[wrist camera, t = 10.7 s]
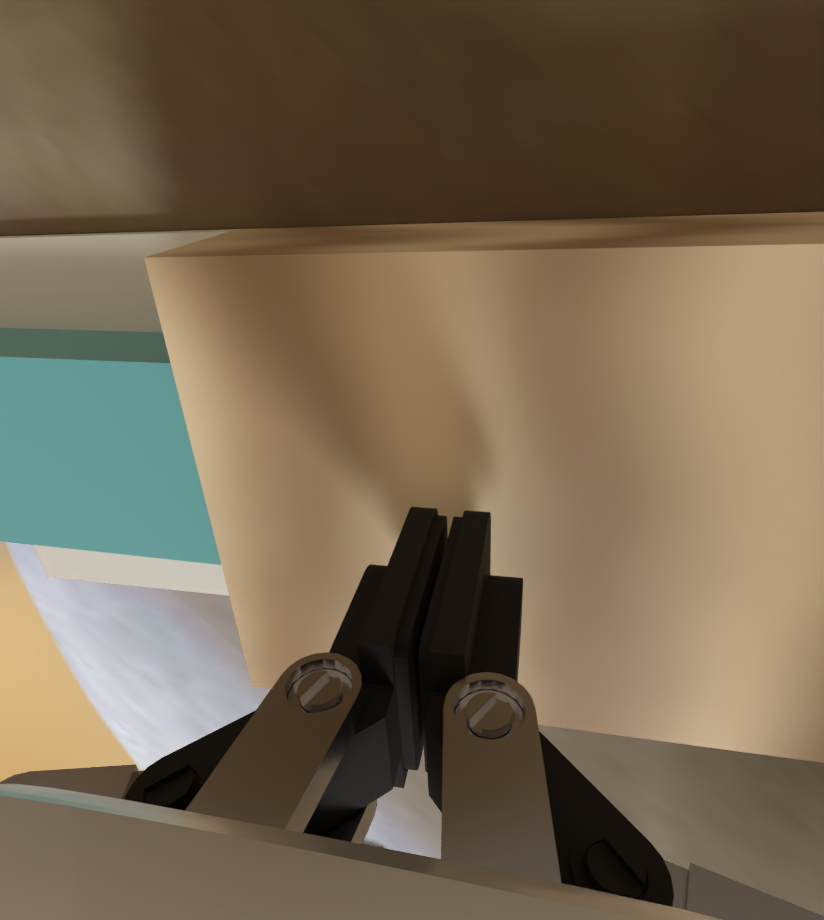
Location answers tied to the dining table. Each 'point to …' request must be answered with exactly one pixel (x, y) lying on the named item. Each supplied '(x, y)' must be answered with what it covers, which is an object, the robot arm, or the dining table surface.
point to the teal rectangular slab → (97, 447)
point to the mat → (101, 309)
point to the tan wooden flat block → (531, 447)
